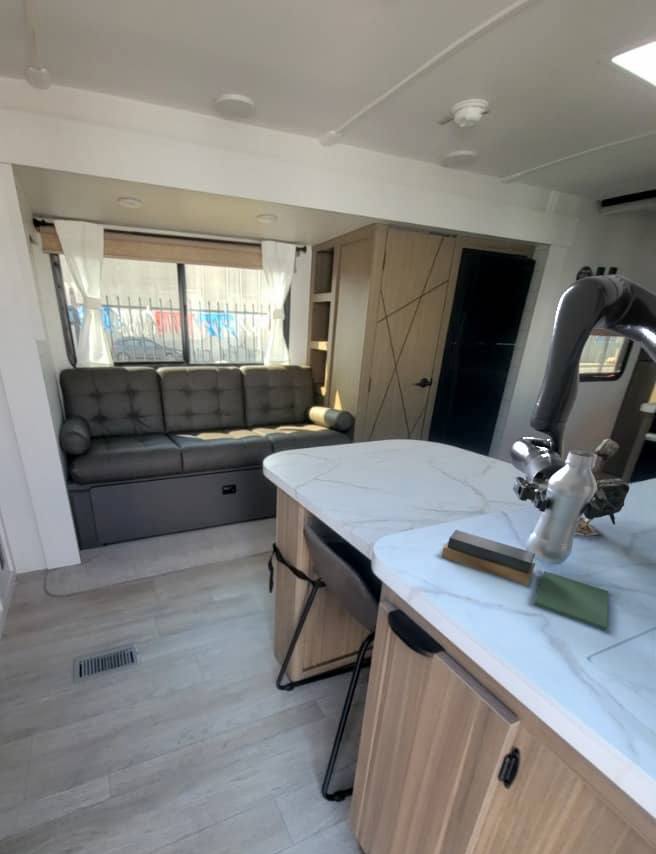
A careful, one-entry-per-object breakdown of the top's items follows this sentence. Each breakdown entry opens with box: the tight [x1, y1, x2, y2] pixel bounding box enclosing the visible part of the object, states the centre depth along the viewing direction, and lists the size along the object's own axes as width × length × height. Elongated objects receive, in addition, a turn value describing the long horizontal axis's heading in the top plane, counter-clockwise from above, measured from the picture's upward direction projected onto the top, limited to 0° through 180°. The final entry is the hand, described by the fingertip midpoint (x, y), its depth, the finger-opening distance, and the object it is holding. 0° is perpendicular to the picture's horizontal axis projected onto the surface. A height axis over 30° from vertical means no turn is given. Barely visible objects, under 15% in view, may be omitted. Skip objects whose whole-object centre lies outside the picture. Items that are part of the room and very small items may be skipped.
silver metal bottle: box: [525, 449, 598, 566], centre depth 69 cm, size 6×7×20 cm
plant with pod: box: [575, 438, 631, 538], centre depth 81 cm, size 8×11×20 cm
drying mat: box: [533, 570, 609, 631], centre depth 64 cm, size 9×11×1 cm
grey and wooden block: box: [440, 529, 536, 587], centre depth 71 cm, size 14×5×4 cm, turn 53°
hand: (567, 510), depth 67 cm, fingers closed on silver metal bottle, 6 cm apart
